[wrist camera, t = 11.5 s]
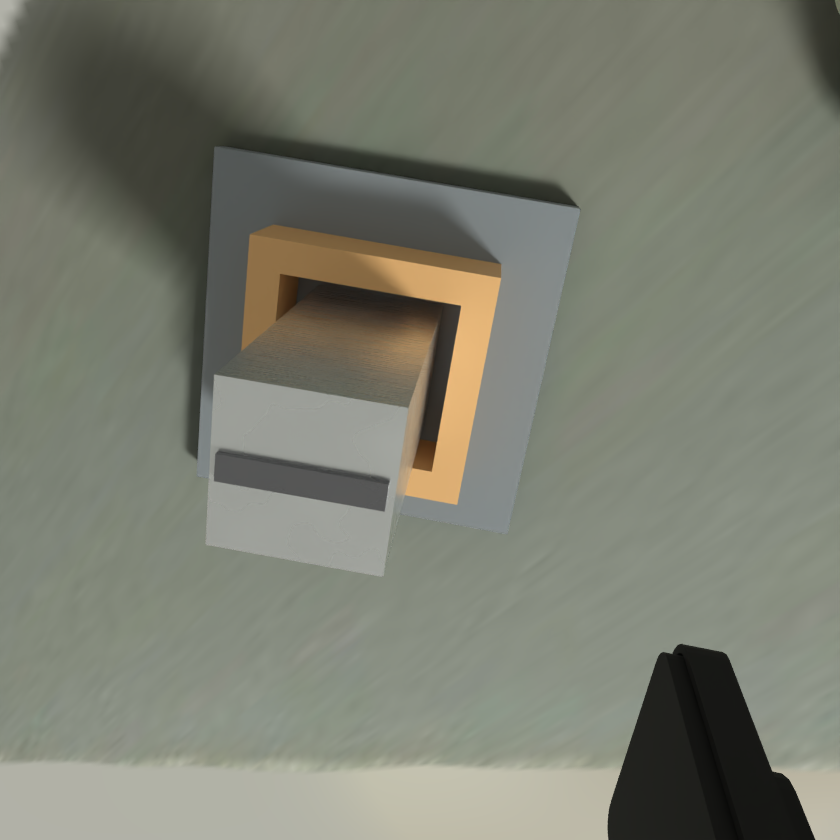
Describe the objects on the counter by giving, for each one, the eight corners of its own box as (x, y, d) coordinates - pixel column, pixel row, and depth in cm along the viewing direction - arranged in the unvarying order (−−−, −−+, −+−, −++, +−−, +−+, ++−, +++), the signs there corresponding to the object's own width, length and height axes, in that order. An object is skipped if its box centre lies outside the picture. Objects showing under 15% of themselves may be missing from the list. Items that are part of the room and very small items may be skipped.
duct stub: (443, 305, 30) (407, 410, 19) (424, 421, 32) (382, 580, 21) (319, 284, 31) (211, 376, 19) (307, 401, 32) (203, 548, 21)
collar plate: (578, 206, 30) (589, 217, 26) (507, 523, 35) (507, 570, 31) (223, 145, 30) (183, 148, 26) (204, 467, 35) (169, 507, 32)
